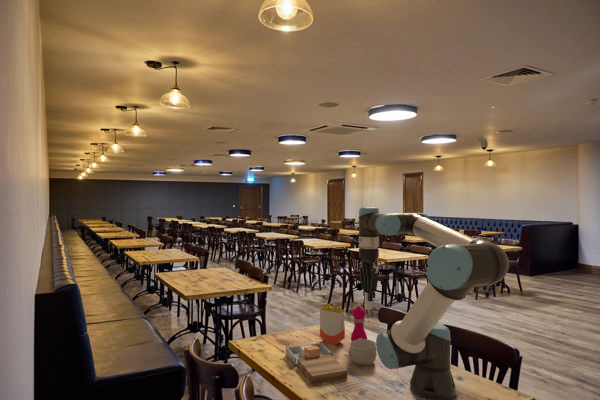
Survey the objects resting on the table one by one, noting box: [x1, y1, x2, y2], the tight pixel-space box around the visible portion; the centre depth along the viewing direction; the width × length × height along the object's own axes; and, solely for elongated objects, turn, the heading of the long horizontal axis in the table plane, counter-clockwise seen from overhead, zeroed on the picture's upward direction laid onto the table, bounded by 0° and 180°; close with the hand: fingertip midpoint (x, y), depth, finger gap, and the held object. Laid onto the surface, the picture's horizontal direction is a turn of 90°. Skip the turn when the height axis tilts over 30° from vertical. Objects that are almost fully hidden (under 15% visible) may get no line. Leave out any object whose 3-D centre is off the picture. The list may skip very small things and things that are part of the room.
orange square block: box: [304, 346, 320, 358], centre depth 164 cm, size 5×5×3 cm
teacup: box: [348, 338, 377, 367], centre depth 164 cm, size 14×11×8 cm
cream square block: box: [300, 345, 312, 358], centre depth 168 cm, size 5×5×3 cm
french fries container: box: [319, 302, 346, 346], centre depth 186 cm, size 5×11×18 cm, turn 58°
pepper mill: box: [350, 303, 368, 342], centre depth 178 cm, size 7×7×20 cm
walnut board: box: [297, 355, 348, 385], centre depth 154 cm, size 16×14×3 cm
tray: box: [285, 342, 333, 367], centre depth 168 cm, size 12×16×4 cm
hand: (368, 308), depth 154 cm, fingers closed
